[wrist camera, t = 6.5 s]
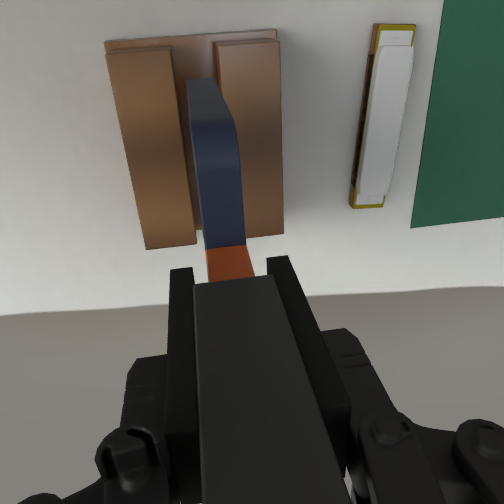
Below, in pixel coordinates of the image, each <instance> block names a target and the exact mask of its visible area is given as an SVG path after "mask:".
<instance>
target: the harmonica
mask: <svg viewBox="0 0 504 504" xmlns="http://www.w3.org/2000/svg"><path fill="white" fill-rule="evenodd" d="M415 27H416V25H415V24H374V27H373V34H372V42H371V49H370V52H369V55H368V61H367V69H366V76H365V83H364V91H363V98H362V105H361V113H360V120H359V127H358V135H357V142H356V149H355V157H354V164H353V172H352V179H351V184H352V186H351V193H350V201H349V205H350V206H351V207H352V208H353V209H359V208H380V207H383V204H384V200H385V195H386V194H387V193H388V190H389V188H390V184H391V179H392V174H393V169H394V164H395V158H396V153H397V147H398V142H399V137H400V131H401V126H402V120H403V115H404V110H405V104H406V99H407V94H408V88H409V83H410V77H411V72H412V66H413V59H414V50H413V47H412V45H413V40H414V34H415Z"/></svg>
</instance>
